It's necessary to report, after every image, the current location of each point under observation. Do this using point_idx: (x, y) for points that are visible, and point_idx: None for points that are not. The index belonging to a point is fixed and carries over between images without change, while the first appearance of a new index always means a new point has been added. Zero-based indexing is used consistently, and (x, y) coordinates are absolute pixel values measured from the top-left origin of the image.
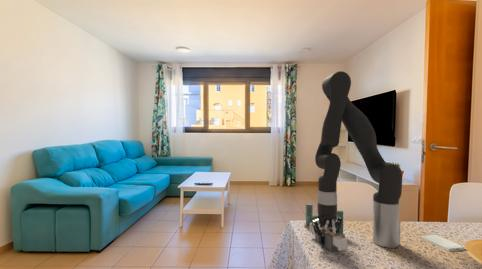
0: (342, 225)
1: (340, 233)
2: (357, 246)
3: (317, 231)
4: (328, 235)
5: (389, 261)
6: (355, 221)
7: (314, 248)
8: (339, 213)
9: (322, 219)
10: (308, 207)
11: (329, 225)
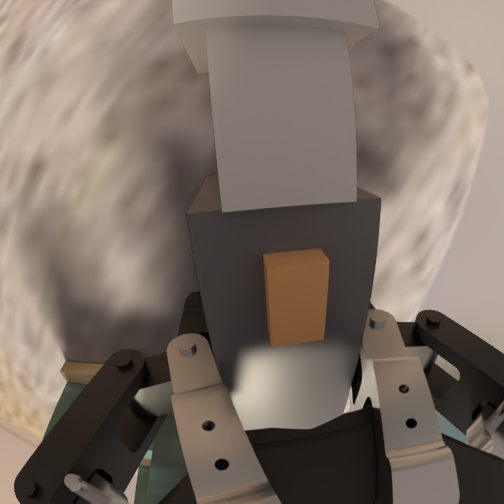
0: (53, 425)
1: (83, 386)
2: (30, 213)
3: (474, 335)
4: (366, 275)
5: (11, 4)
6: (14, 423)
7: (396, 254)
8: None
9: (491, 493)
10: None
11: (304, 454)
